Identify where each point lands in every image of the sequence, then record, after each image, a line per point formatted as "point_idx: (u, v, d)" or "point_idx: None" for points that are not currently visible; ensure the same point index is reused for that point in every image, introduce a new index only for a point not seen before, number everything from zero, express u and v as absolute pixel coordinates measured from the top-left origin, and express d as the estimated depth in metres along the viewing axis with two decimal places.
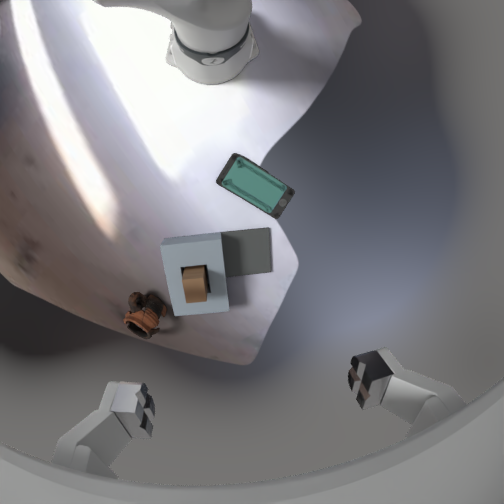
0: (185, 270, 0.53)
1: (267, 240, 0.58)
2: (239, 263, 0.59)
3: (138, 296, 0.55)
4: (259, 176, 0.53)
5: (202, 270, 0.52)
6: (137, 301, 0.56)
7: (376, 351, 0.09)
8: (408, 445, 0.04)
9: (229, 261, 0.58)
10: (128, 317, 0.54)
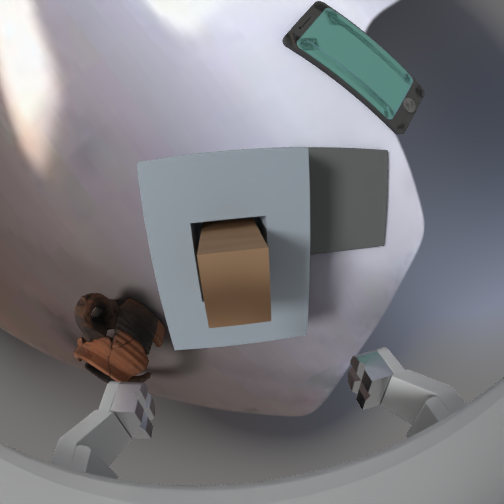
0: (204, 232, 0.19)
1: (384, 176, 0.24)
2: (327, 224, 0.25)
3: (96, 303, 0.21)
4: (368, 47, 0.19)
5: (255, 230, 0.18)
6: (97, 314, 0.23)
7: (376, 351, 0.09)
8: (408, 445, 0.04)
9: None
10: (79, 351, 0.21)
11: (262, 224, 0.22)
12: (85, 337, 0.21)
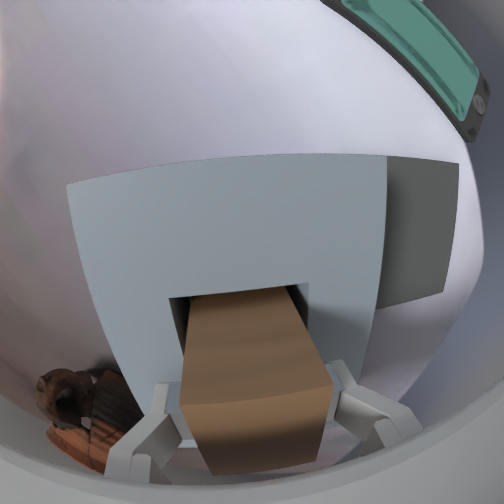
0: (196, 315, 0.10)
1: (454, 200, 0.15)
2: (383, 271, 0.16)
3: (61, 388, 0.12)
4: (430, 22, 0.10)
5: (293, 317, 0.09)
6: (67, 394, 0.14)
7: (329, 363, 0.09)
8: (408, 446, 0.04)
9: None
10: (52, 436, 0.12)
11: (295, 286, 0.13)
12: None
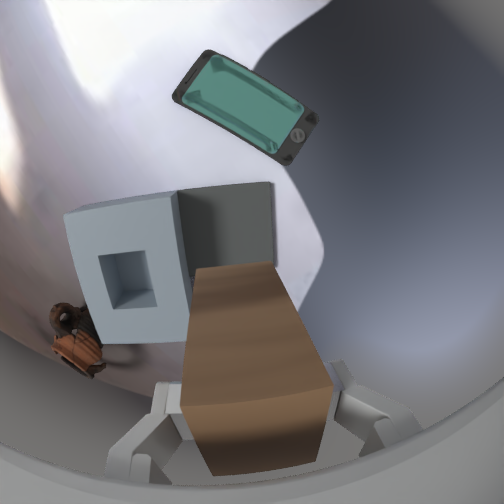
0: (196, 316, 0.10)
1: (267, 206, 0.30)
2: (213, 250, 0.31)
3: (64, 310, 0.27)
4: (253, 86, 0.25)
5: (293, 318, 0.09)
6: (66, 318, 0.29)
7: (329, 363, 0.09)
8: (408, 446, 0.04)
9: (194, 246, 0.30)
10: (54, 345, 0.27)
11: None
12: (57, 335, 0.27)
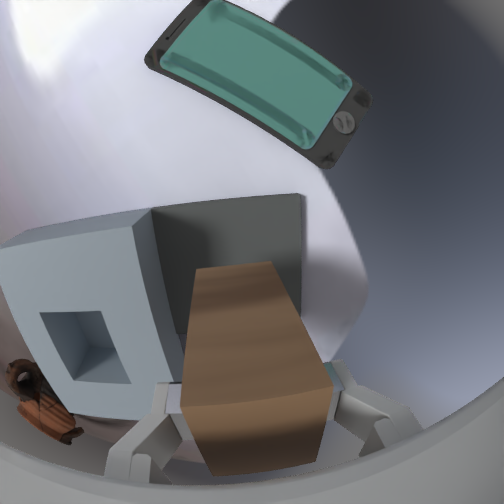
0: (196, 317, 0.10)
1: (296, 232, 0.19)
2: None
3: (20, 371, 0.16)
4: (274, 44, 0.14)
5: (293, 318, 0.09)
6: (28, 377, 0.18)
7: (329, 363, 0.09)
8: (408, 446, 0.04)
9: (182, 294, 0.19)
10: (19, 408, 0.16)
11: None
12: None
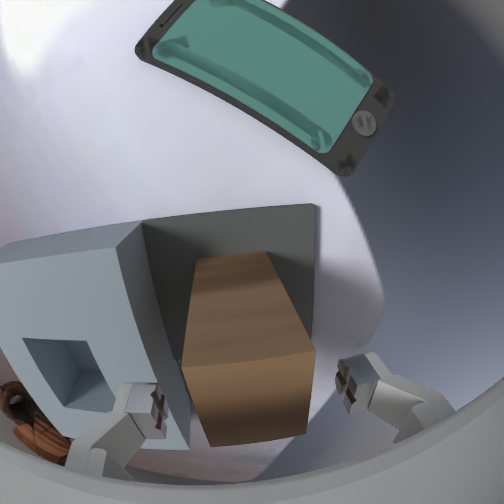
0: (197, 297, 0.11)
1: (308, 248, 0.16)
2: None
3: (12, 394, 0.14)
4: (285, 32, 0.12)
5: (282, 297, 0.11)
6: (21, 400, 0.15)
7: (363, 355, 0.09)
8: (408, 446, 0.04)
9: (179, 317, 0.17)
10: (15, 430, 0.14)
11: None
12: None
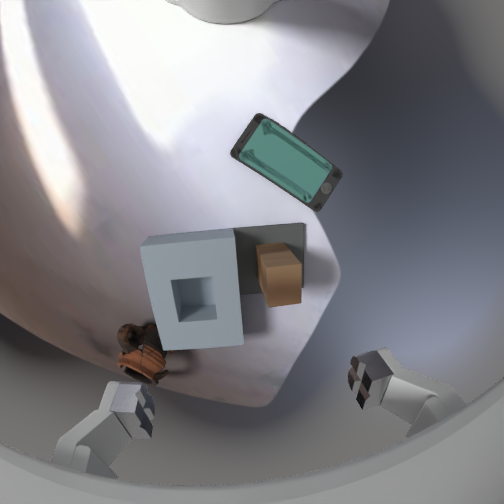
0: (262, 255, 0.34)
1: (301, 241, 0.39)
2: None
3: (130, 330, 0.36)
4: (294, 148, 0.35)
5: (291, 254, 0.33)
6: (131, 336, 0.38)
7: (376, 351, 0.09)
8: (409, 446, 0.04)
9: (244, 272, 0.39)
10: (121, 360, 0.36)
11: None
12: (125, 351, 0.36)
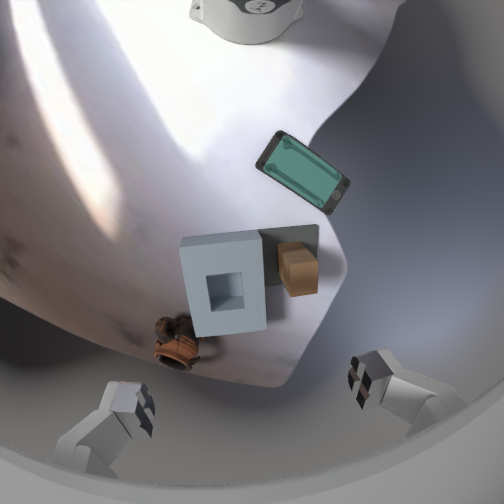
0: (284, 253, 0.40)
1: (314, 240, 0.45)
2: None
3: (167, 322, 0.43)
4: (310, 161, 0.41)
5: (308, 252, 0.40)
6: (166, 328, 0.45)
7: (376, 351, 0.09)
8: (408, 446, 0.04)
9: (266, 267, 0.46)
10: (158, 350, 0.43)
11: None
12: (162, 342, 0.43)
